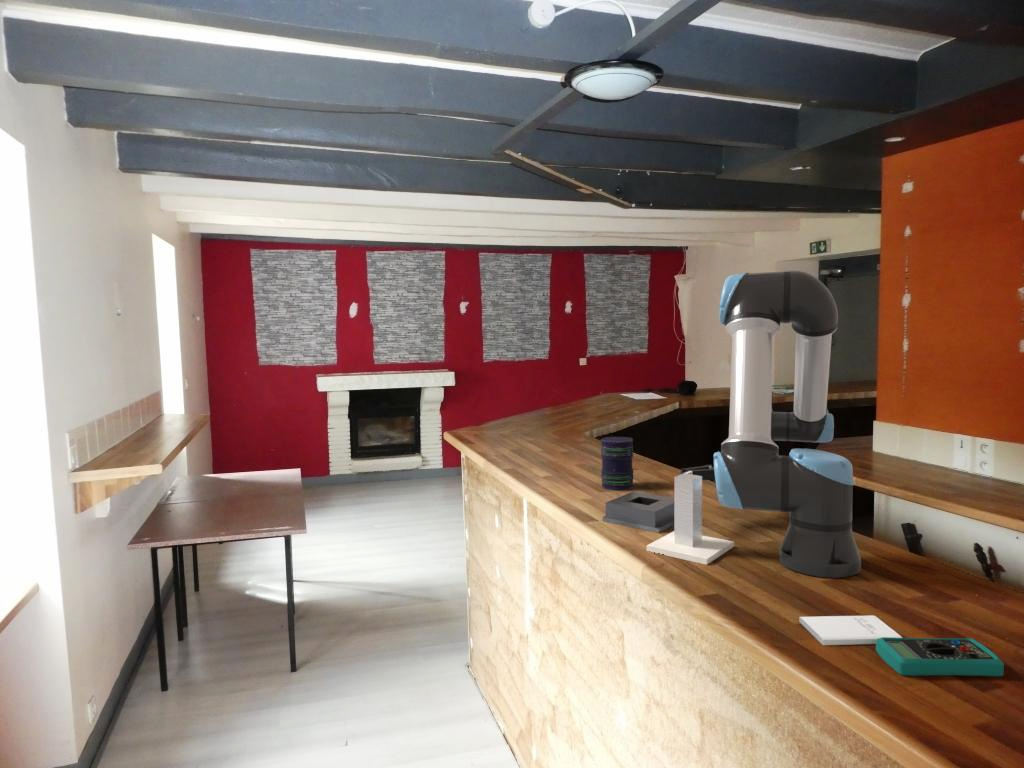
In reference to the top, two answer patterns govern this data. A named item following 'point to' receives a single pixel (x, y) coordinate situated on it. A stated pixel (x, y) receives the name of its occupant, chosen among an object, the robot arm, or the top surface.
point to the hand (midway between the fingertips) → (706, 485)
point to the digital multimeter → (939, 656)
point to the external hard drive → (847, 629)
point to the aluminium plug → (688, 510)
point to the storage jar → (617, 463)
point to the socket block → (641, 511)
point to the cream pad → (691, 548)
